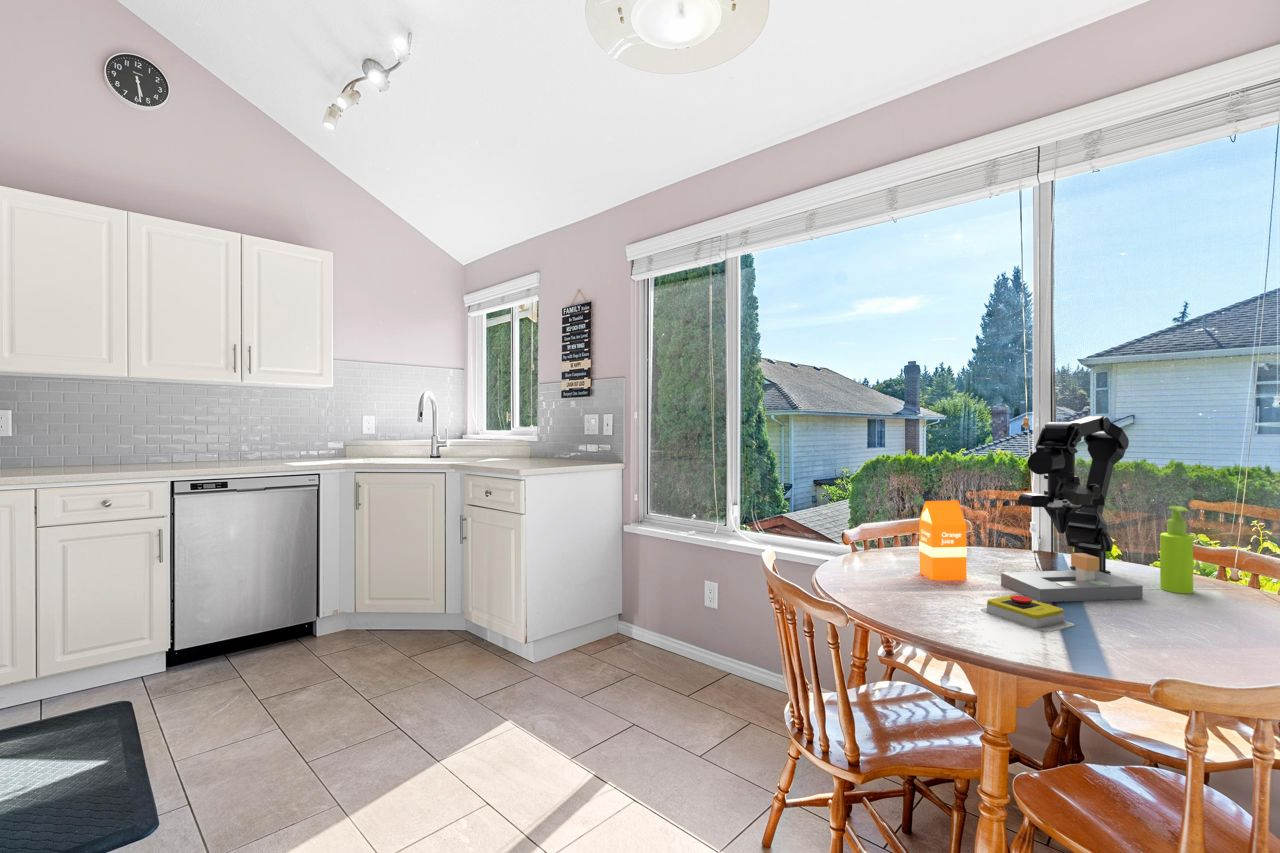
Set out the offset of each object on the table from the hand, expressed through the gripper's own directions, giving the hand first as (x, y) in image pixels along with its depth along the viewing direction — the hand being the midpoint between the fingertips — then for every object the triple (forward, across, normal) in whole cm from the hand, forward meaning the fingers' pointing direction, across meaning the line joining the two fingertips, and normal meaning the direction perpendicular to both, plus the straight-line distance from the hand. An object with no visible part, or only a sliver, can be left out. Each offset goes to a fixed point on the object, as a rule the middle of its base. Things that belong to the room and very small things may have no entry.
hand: (1061, 533), depth 154 cm
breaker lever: (+11, -1, -9) cm, 14 cm away
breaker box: (+12, -5, -9) cm, 16 cm away
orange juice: (+12, -27, +7) cm, 30 cm away
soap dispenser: (+12, +20, -11) cm, 26 cm away
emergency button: (+13, -26, -25) cm, 39 cm away
